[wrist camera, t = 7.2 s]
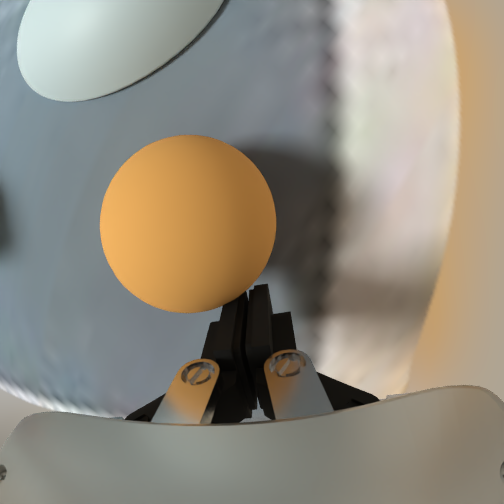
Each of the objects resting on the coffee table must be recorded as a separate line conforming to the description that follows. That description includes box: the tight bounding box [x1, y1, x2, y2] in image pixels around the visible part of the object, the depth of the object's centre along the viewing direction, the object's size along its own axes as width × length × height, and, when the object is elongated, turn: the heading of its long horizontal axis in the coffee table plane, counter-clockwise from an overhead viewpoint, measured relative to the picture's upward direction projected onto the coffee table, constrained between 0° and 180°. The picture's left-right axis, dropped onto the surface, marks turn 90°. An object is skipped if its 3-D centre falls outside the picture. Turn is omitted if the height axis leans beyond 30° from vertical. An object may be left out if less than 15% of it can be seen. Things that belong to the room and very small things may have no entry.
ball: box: [100, 135, 276, 313], centre depth 10 cm, size 6×6×6 cm
